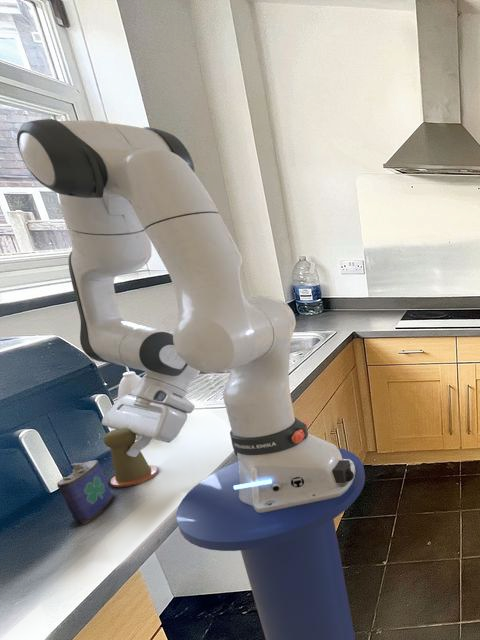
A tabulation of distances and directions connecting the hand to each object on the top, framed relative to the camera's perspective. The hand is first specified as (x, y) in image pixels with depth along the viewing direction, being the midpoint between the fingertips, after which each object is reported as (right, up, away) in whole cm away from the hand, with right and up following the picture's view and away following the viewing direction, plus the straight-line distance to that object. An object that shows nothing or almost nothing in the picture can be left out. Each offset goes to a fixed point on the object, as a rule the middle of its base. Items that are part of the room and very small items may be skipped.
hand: (121, 453), depth 91 cm
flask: (+3, -10, -8) cm, 13 cm away
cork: (0, -5, +3) cm, 6 cm away
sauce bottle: (-20, +4, +29) cm, 35 cm away
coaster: (0, -6, +3) cm, 6 cm away
